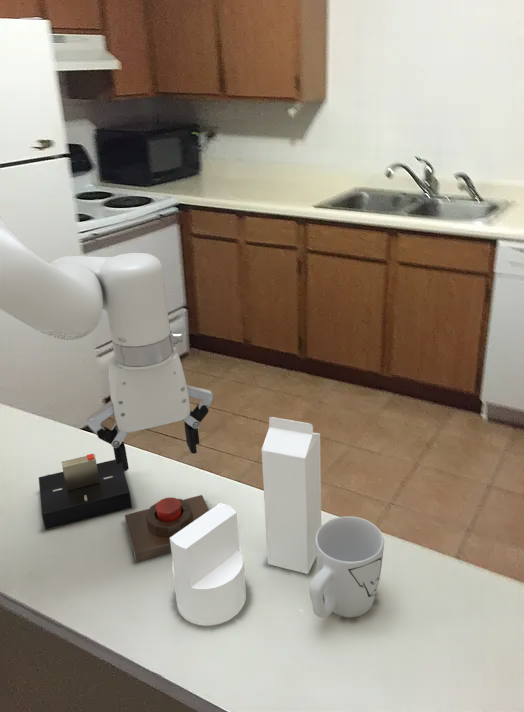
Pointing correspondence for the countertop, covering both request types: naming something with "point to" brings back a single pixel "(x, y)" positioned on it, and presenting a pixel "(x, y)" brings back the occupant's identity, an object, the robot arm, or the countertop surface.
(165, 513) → the timer button
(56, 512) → the panel
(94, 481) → the knob
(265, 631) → the countertop surface
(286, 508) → the milk
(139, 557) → the brown button base
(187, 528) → the cylinder with rectangular tab
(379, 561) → the mug
